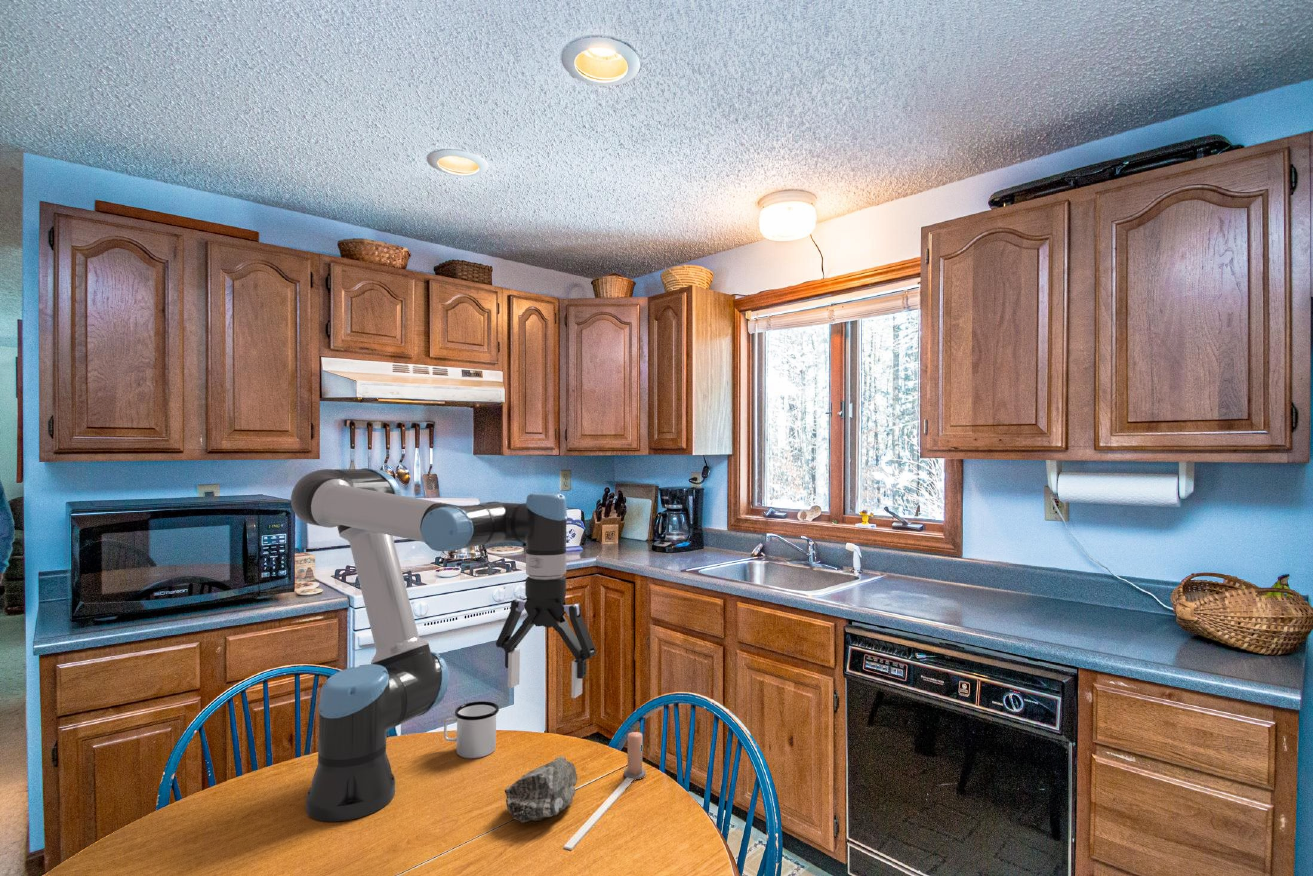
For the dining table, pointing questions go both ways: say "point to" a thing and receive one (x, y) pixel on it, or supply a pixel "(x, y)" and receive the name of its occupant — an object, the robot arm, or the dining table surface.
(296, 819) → the dining table surface
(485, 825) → the dining table surface
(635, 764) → the crank handle
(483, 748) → the mug
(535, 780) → the rock
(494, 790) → the dining table surface
